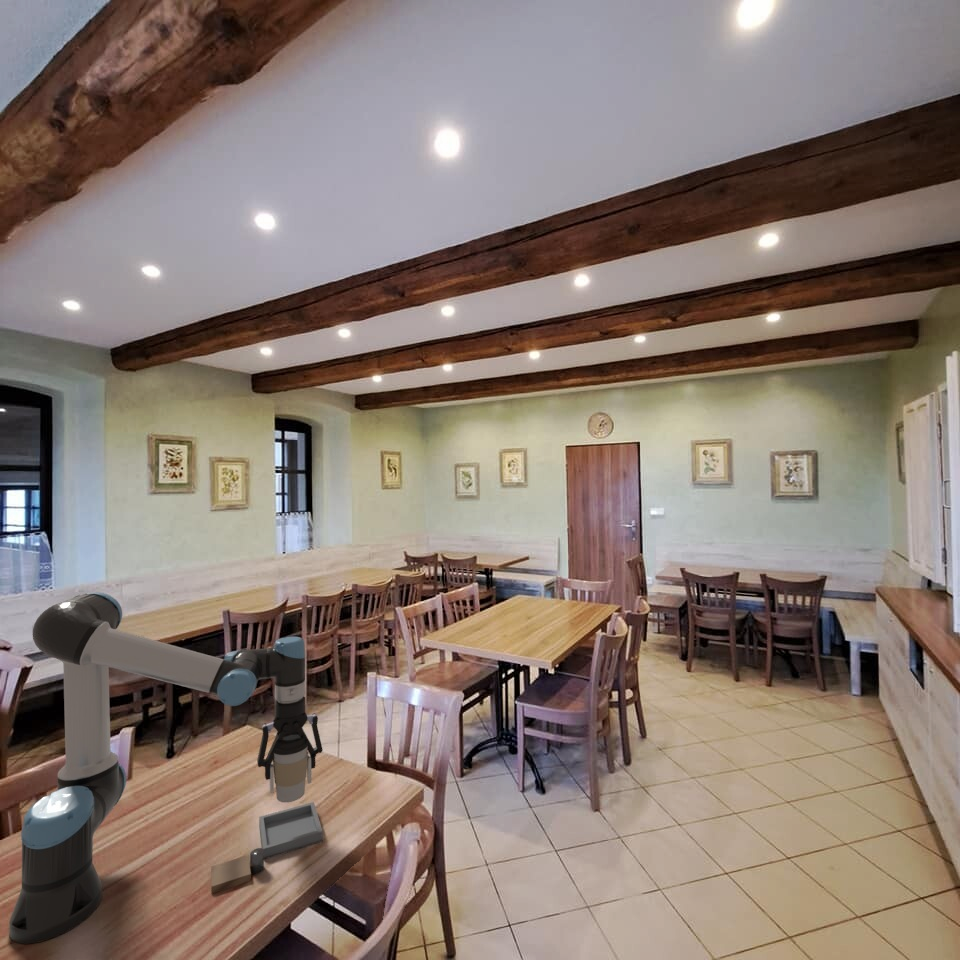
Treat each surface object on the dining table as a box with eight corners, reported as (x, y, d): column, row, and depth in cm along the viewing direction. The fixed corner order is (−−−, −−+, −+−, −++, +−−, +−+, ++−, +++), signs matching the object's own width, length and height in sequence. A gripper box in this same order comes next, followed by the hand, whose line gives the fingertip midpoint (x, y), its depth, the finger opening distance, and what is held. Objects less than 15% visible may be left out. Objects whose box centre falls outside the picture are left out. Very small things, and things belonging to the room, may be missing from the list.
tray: (263, 859, 124) (263, 849, 124) (259, 826, 136) (259, 816, 136) (322, 841, 130) (322, 831, 130) (313, 811, 142) (313, 802, 142)
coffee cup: (296, 807, 128) (296, 746, 128) (264, 803, 130) (264, 743, 130) (315, 786, 137) (315, 730, 137) (285, 783, 139) (284, 727, 139)
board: (211, 895, 113) (211, 886, 113) (211, 875, 119) (211, 866, 119) (250, 882, 117) (250, 873, 117) (248, 863, 123) (248, 854, 123)
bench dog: (250, 876, 118) (250, 858, 118) (249, 867, 121) (249, 850, 121) (264, 871, 120) (264, 854, 120) (263, 863, 122) (263, 846, 122)
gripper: (246, 711, 126) (246, 805, 125) (334, 695, 135) (335, 781, 135) (245, 701, 132) (245, 789, 132) (329, 686, 142) (329, 768, 141)
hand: (290, 785), depth 133 cm, fingers closed on coffee cup, 8 cm apart
